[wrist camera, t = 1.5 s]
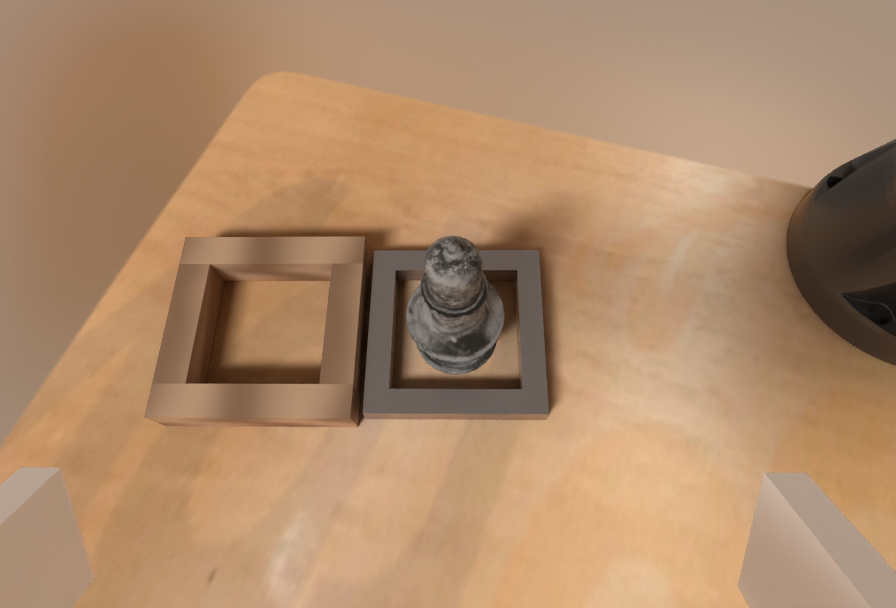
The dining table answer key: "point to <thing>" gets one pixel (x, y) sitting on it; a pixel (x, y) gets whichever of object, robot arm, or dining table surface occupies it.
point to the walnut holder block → (195, 319)
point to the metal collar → (456, 402)
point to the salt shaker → (455, 308)
